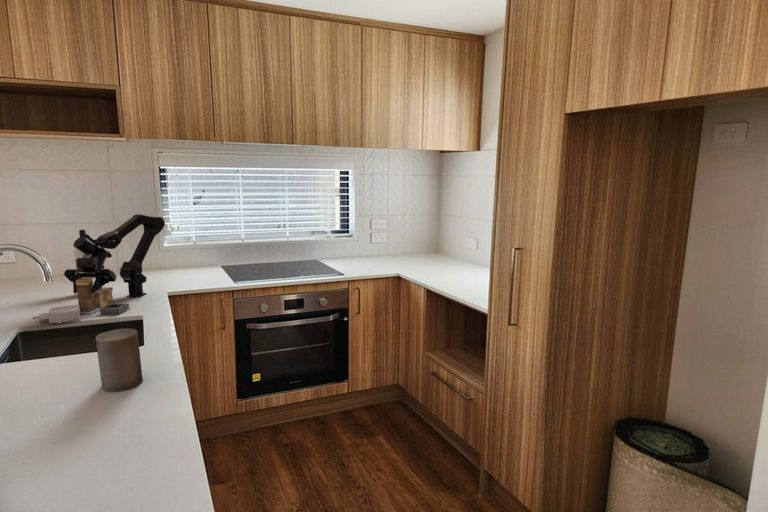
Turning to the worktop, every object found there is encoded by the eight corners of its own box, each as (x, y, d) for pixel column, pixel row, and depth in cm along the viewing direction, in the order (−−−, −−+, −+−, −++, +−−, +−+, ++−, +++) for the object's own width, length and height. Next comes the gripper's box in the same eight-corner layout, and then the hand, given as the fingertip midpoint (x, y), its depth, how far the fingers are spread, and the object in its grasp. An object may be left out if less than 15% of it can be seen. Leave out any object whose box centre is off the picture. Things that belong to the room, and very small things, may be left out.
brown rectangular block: (85, 309, 200) (82, 278, 198) (95, 309, 200) (91, 278, 198) (79, 312, 196) (75, 280, 194) (89, 312, 196) (85, 280, 194)
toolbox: (96, 302, 212) (94, 285, 211) (114, 302, 212) (112, 285, 211) (82, 308, 203) (80, 290, 201) (101, 308, 203) (99, 290, 201)
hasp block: (111, 309, 201) (110, 303, 201) (129, 309, 201) (128, 303, 200) (100, 314, 194) (100, 308, 193) (119, 314, 194) (118, 308, 193)
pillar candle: (149, 376, 134) (143, 323, 132) (132, 391, 124) (126, 334, 122) (113, 377, 134) (106, 324, 131) (93, 393, 124) (86, 336, 122)
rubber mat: (83, 309, 202) (83, 308, 202) (103, 309, 202) (103, 307, 202) (71, 314, 194) (71, 313, 194) (91, 314, 194) (91, 313, 194)
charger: (34, 321, 187) (80, 315, 194) (31, 327, 179) (80, 321, 186) (33, 309, 186) (79, 303, 193) (30, 315, 178) (78, 309, 185)
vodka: (100, 290, 234) (93, 228, 229) (101, 294, 226) (94, 229, 221) (77, 293, 229) (69, 229, 224) (78, 297, 221) (70, 231, 216)
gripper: (63, 249, 198) (48, 282, 189) (109, 249, 198) (96, 282, 189) (78, 265, 207) (64, 297, 198) (122, 264, 207) (110, 297, 198)
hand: (83, 293), depth 195 cm, fingers open, 7 cm apart
